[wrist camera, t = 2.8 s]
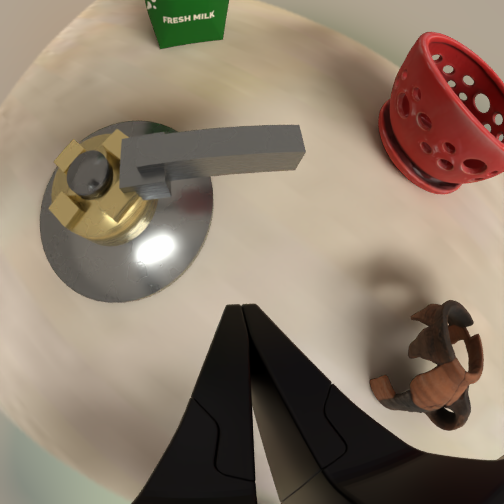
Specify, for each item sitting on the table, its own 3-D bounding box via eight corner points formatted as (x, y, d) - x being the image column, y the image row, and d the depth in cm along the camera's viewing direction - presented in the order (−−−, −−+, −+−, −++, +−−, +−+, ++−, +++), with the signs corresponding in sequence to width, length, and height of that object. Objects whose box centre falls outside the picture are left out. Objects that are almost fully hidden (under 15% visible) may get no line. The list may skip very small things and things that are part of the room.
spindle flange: (47, 307, 19) (-4, 307, 12) (54, 145, 21) (20, 108, 14) (223, 292, 21) (225, 288, 14) (206, 116, 23) (204, 62, 16)
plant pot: (432, 105, 27) (487, 52, 15) (469, 203, 25) (545, 166, 13) (346, 90, 25) (396, 10, 14) (384, 207, 24) (478, 149, 12)
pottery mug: (344, 360, 21) (422, 320, 15) (394, 314, 27) (454, 274, 21) (403, 460, 17) (483, 445, 11) (442, 400, 23) (505, 375, 17)
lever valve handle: (74, 251, 18) (27, 233, 12) (78, 167, 20) (42, 128, 13) (287, 226, 21) (315, 196, 14) (272, 141, 22) (290, 91, 15)
